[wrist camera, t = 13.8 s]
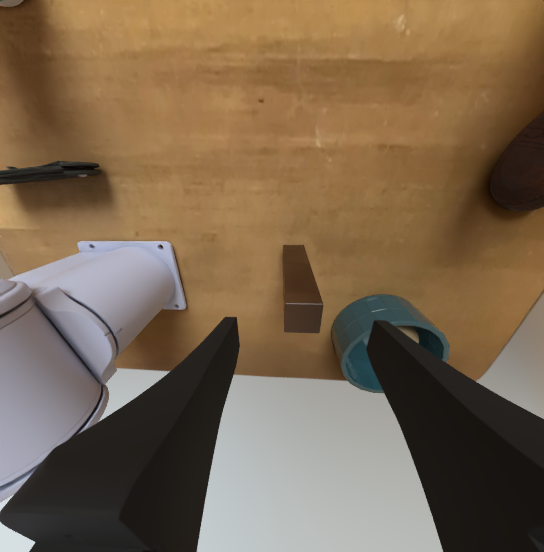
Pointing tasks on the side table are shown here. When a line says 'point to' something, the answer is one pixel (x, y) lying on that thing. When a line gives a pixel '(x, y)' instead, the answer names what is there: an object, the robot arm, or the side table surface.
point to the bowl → (357, 327)
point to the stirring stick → (300, 292)
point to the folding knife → (48, 172)
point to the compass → (521, 170)
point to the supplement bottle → (10, 3)
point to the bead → (409, 332)
